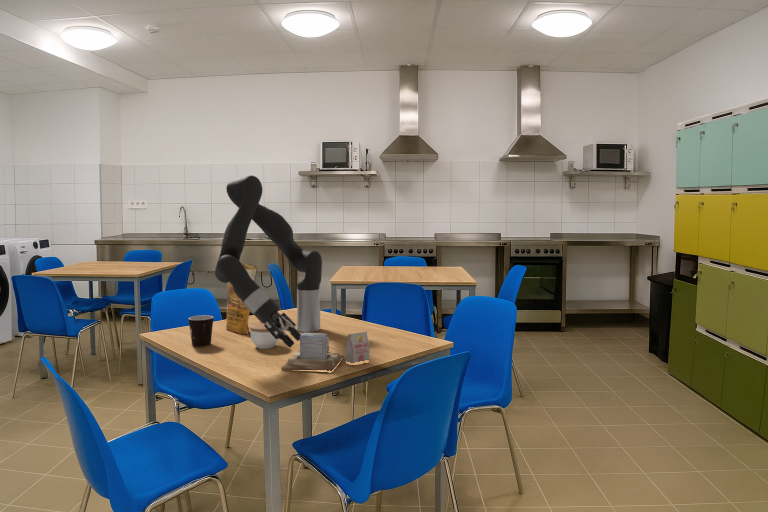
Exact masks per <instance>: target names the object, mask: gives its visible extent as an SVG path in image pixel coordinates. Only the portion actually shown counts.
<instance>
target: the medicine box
mask: <svg viewBox="0 0 768 512" xmlns="http://www.w3.org/2000/svg"><path fill="white" fill-rule="evenodd" d="M327 338H328V334H327V333H320V332H302V334H301V336H300V340H299V351H300V359H317V360H327Z"/></svg>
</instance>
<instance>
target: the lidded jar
mask: <svg viewBox="0 0 768 512" xmlns="http://www.w3.org/2000/svg"><path fill="white" fill-rule="evenodd" d="M266 323H267V322H266ZM266 323H264V324H263V323H261V322H259V323H254V324H251V325H250V326H249V329H250V330H249V333H250V337H251V338H250V339H251V342H252V343H253V345H255V347H256V348H257V349H261V350H268V349H272V348H275V346H276V345H277V344H278V342H279V340H280V339H279V338H278V339H275V338H274V336H273V335H272V334H271V333H270V332H269V331H268V330H267V329H266V328H265V326H264V325H265V324H266Z"/></svg>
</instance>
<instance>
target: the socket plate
mask: <svg viewBox="0 0 768 512" xmlns="http://www.w3.org/2000/svg"><path fill="white" fill-rule="evenodd" d="M343 357H344V358H345V355H344V354H343V355H340V353H336V352H328V353H327V360H317V359H300V350H298V351H296V352H295V353H294V354H293V355H292V356H290V357H289V358H288V359H287V362H286V363H285V364H284V365H282V366H281V368H280V369H281V371H282V370H327V371H329V370H330V371H332V370H333V369H334V368H335V367H336V366H337V364H338V363H339V362H340V361H341V359H342V358H343Z"/></svg>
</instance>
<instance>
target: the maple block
mask: <svg viewBox="0 0 768 512" xmlns="http://www.w3.org/2000/svg"><path fill="white" fill-rule="evenodd" d="M328 351H329V352H330V338H329V337H327V352H328ZM329 352H328V353H329Z"/></svg>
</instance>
